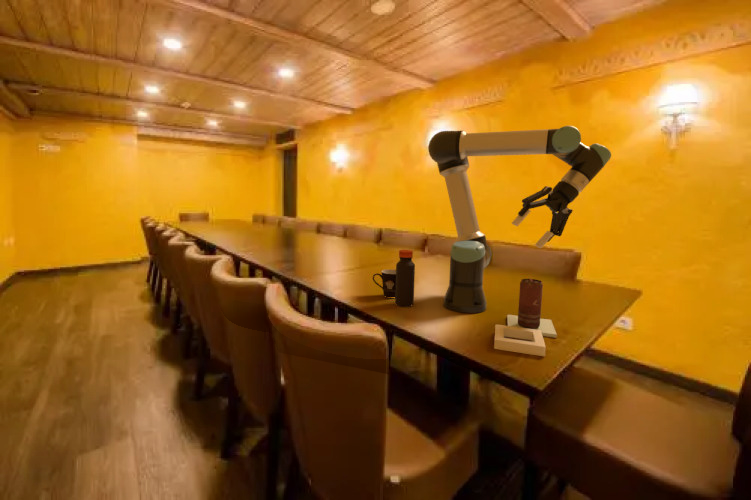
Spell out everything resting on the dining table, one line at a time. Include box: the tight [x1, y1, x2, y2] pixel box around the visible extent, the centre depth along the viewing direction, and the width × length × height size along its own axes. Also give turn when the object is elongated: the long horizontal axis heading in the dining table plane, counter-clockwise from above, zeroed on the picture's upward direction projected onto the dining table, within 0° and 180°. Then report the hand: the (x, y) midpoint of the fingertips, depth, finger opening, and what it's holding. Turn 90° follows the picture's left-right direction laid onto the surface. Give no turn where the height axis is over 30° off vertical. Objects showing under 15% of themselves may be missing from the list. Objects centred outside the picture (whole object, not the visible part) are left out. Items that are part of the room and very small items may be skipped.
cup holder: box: [493, 324, 547, 358], centre depth 93 cm, size 12×12×2 cm
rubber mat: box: [506, 314, 558, 339], centre depth 105 cm, size 13×13×1 cm
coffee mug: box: [372, 269, 396, 298], centre depth 137 cm, size 12×9×10 cm
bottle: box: [394, 249, 416, 307], centre depth 125 cm, size 7×7×20 cm
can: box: [517, 278, 544, 329], centre depth 103 cm, size 6×6×14 cm
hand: (526, 236), depth 118 cm, fingers open, 13 cm apart
